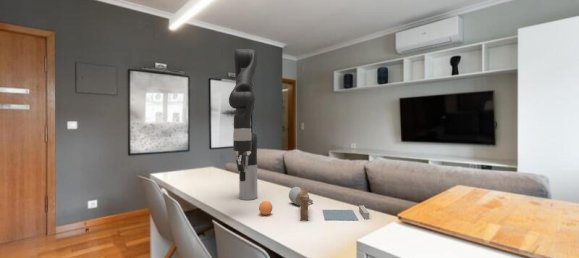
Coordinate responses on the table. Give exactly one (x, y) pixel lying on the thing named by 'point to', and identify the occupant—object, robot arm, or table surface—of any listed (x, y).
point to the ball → (265, 207)
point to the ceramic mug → (296, 196)
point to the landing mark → (339, 215)
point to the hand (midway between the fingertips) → (242, 180)
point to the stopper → (364, 212)
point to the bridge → (303, 204)
